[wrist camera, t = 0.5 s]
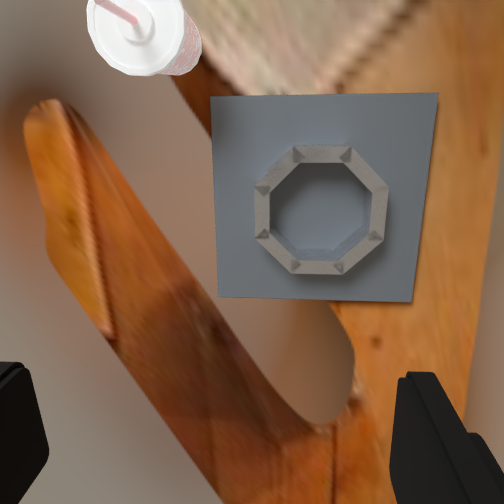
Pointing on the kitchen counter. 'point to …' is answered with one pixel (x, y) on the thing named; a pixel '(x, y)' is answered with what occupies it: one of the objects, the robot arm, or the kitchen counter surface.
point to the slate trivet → (320, 190)
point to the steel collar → (351, 246)
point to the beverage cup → (144, 36)
